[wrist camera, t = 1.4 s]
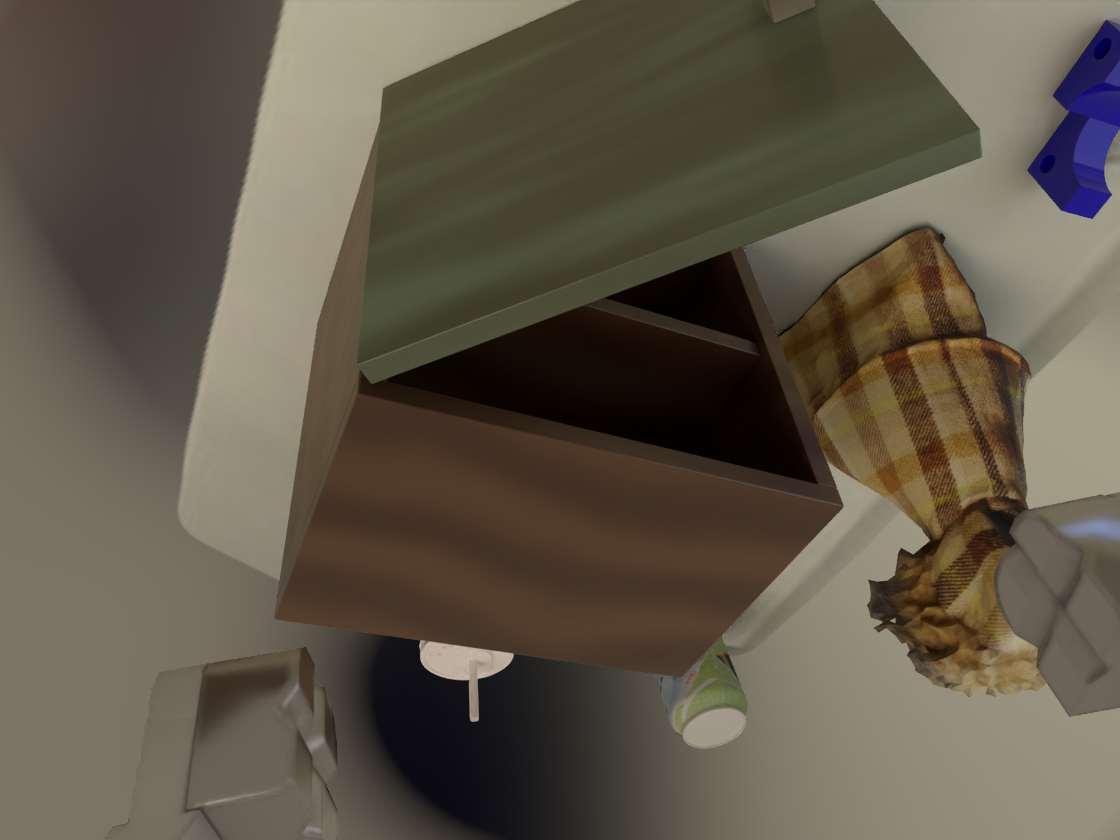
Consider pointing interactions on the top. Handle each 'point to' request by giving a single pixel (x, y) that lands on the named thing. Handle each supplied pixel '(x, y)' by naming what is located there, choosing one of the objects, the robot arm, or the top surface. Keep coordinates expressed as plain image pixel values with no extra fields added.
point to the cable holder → (1084, 129)
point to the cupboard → (556, 475)
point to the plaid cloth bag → (926, 449)
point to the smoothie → (463, 665)
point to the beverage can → (706, 700)
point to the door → (630, 157)
